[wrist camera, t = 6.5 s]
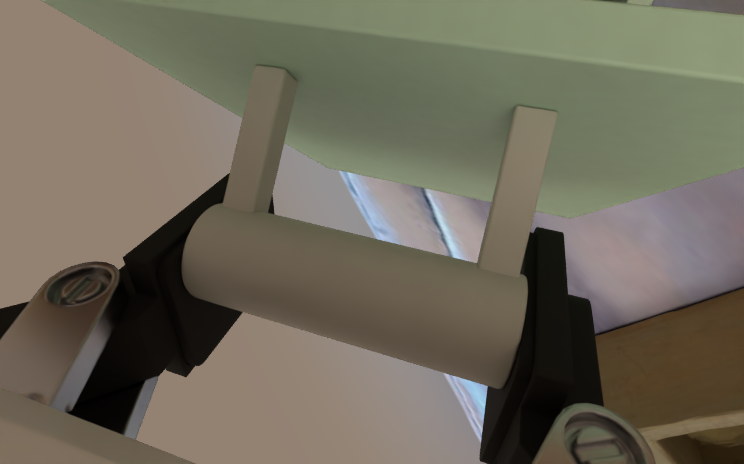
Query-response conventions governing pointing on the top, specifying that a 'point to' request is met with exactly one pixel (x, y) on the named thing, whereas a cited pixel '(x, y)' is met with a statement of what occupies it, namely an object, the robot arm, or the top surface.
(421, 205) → the top surface
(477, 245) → the top surface
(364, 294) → the lid
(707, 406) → the caddy
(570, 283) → the top surface
